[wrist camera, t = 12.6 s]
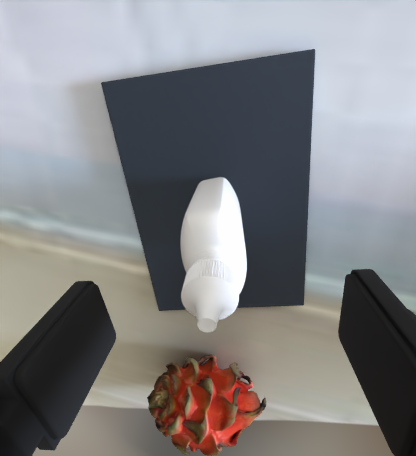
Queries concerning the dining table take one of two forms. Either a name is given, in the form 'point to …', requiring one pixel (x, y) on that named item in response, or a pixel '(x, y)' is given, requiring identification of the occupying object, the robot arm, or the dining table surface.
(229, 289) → the eye dropper bottle
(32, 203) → the dining table surface
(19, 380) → the robot arm
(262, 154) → the mat
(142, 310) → the dining table surface
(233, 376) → the dragon fruit
